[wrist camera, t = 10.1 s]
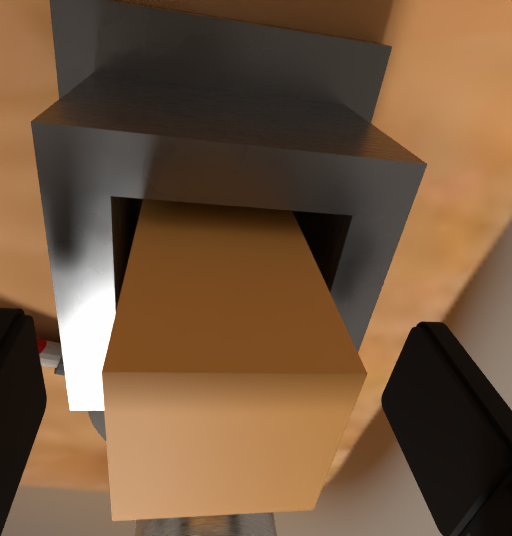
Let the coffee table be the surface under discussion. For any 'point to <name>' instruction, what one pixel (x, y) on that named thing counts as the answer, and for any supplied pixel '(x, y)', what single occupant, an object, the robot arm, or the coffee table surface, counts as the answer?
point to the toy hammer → (51, 355)
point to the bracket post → (209, 166)
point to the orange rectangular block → (223, 367)
